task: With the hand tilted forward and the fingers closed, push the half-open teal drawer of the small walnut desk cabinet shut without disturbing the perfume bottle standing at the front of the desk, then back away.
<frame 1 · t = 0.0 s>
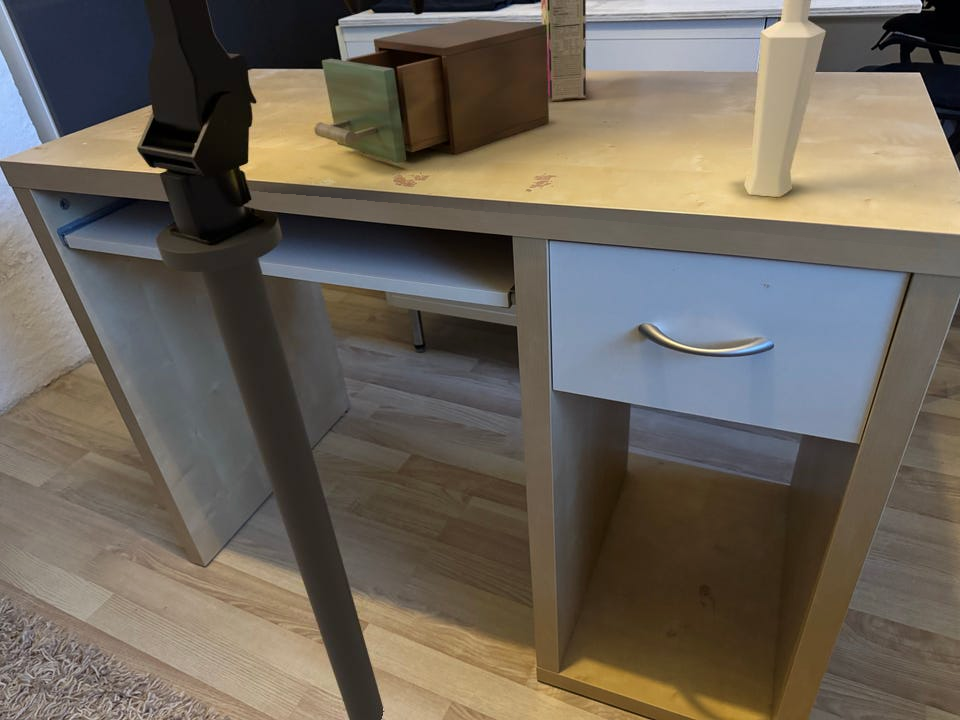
hand: (386, 13, 77), 13 cm above the table, tool pointing down, fingers open, 9 cm apart
cabinet: (468, 129, 81), on the table
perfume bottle: (764, 190, 59), on the table
drawer: (396, 100, 73), point 5 cm above the table, slide at 6.0 cm
candy bar box: (563, 92, 94), on the table
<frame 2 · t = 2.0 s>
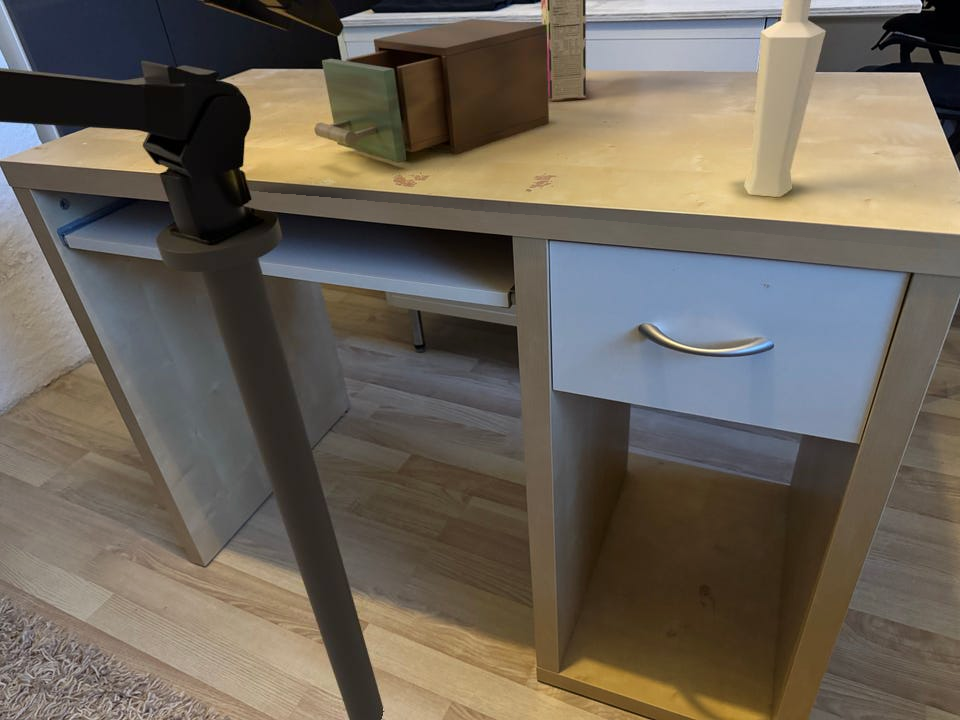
hand: (314, 28, 65), 13 cm above the table, tool tilted 45°, fingers open, 9 cm apart
nothing on the table moved.
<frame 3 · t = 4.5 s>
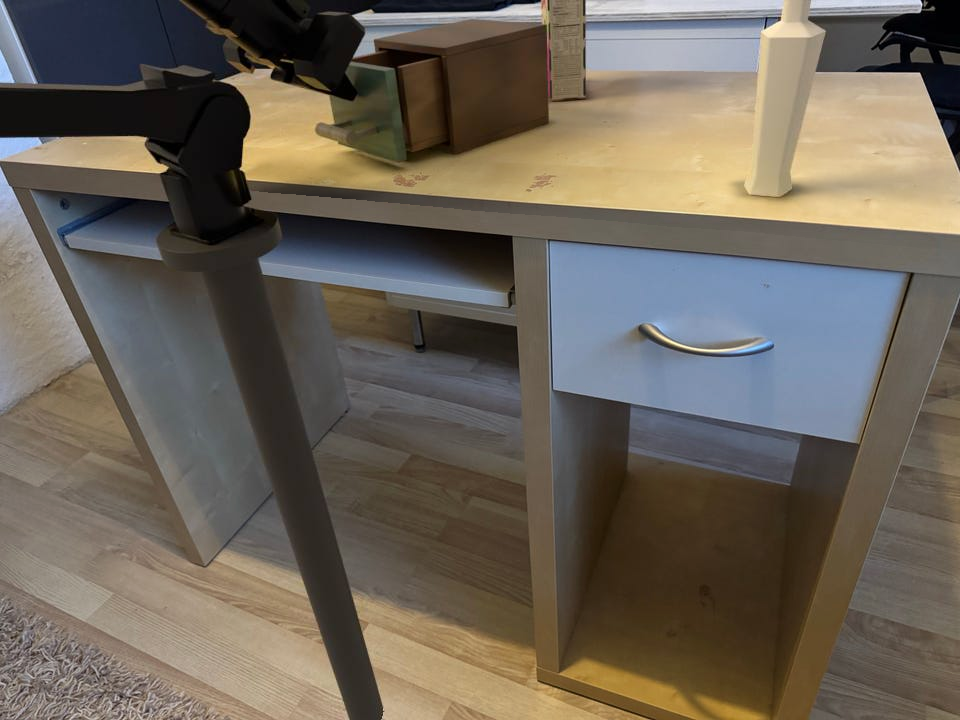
hand: (353, 96, 70), 7 cm above the table, tool tilted 45°, fingers closed, pressing on drawer
drawer: (396, 100, 73), point 5 cm above the table, slide at 5.9 cm, touching gripper
everything else where it was.
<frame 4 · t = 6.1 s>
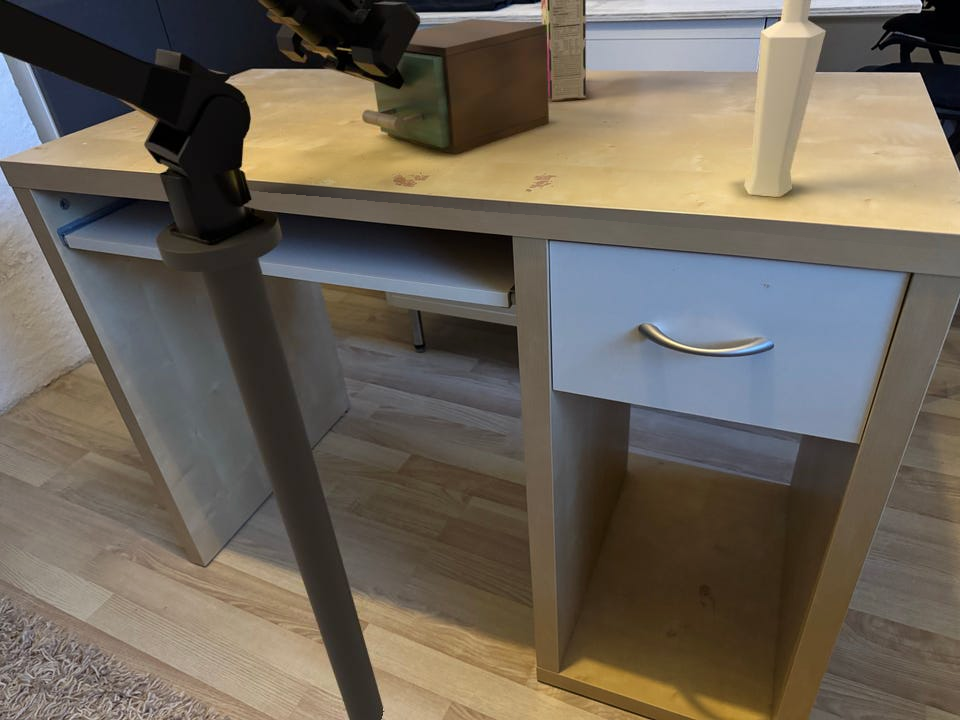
hand: (400, 85, 73), 7 cm above the table, tool tilted 45°, fingers closed, pressing on drawer
drawer: (439, 89, 77), point 5 cm above the table, slide at 0.0 cm, touching cabinet, gripper
everything else where it was.
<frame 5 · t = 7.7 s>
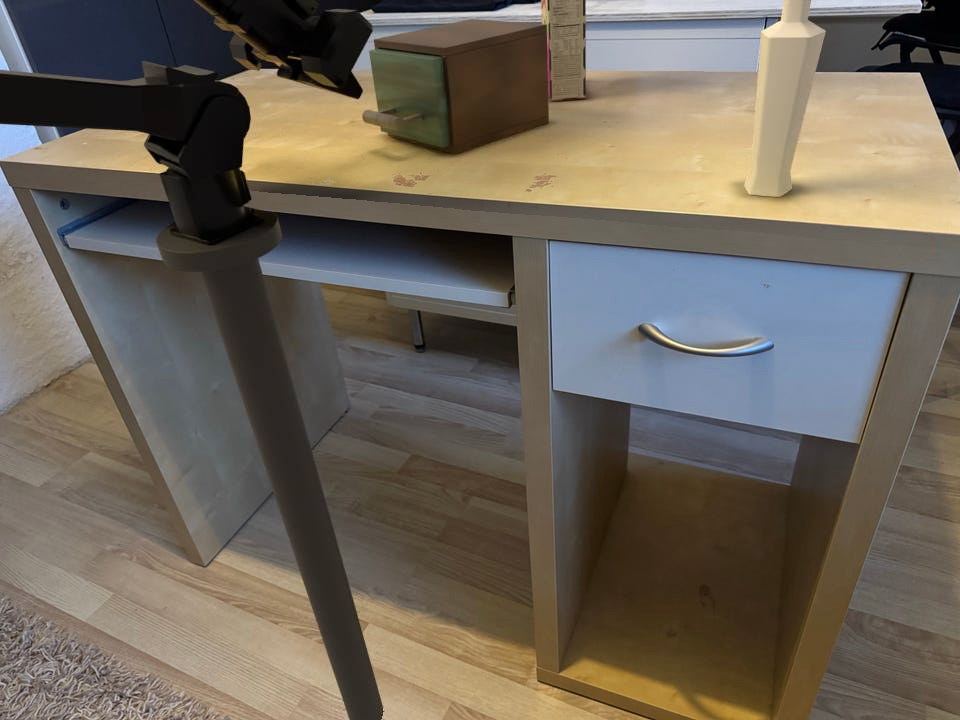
hand: (359, 94, 71), 7 cm above the table, tool tilted 45°, fingers closed
drawer: (439, 89, 77), point 5 cm above the table, slide at 0.0 cm, touching cabinet
everything else where it was.
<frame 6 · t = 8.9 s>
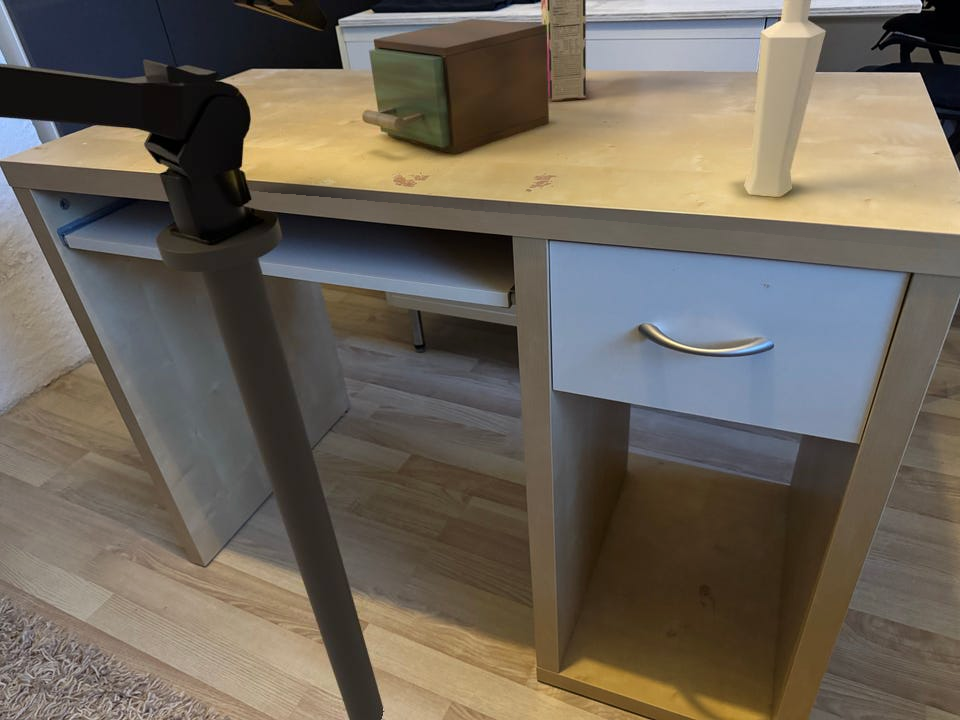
hand: (324, 25, 65), 14 cm above the table, tool tilted 45°, fingers closed
nothing on the table moved.
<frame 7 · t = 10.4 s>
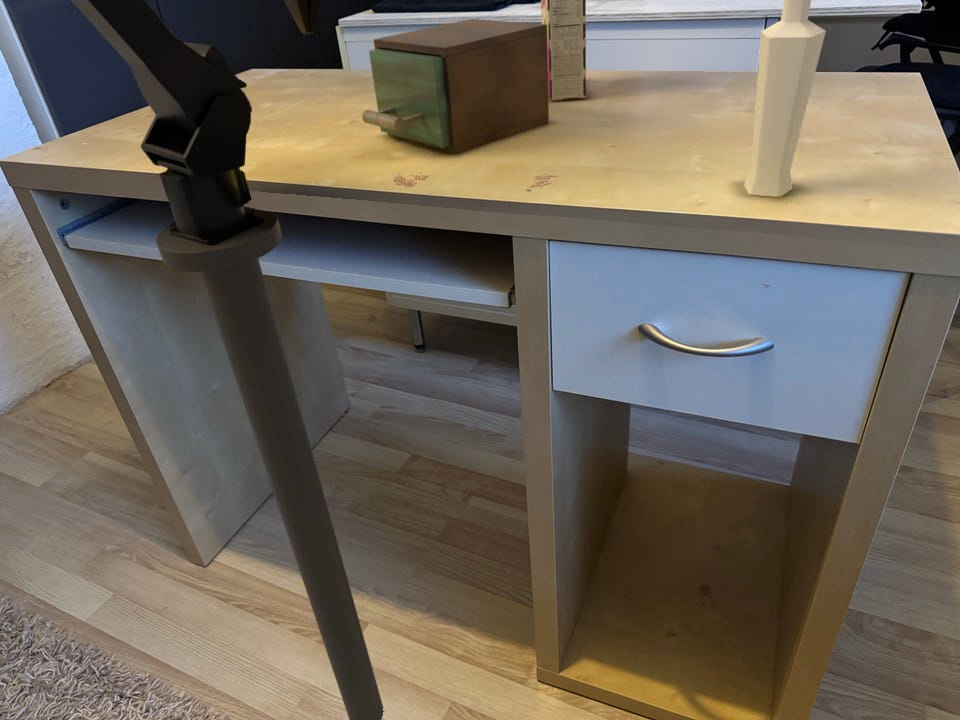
hand: (308, 33, 66), 13 cm above the table, tool pointing down, fingers closed
nothing on the table moved.
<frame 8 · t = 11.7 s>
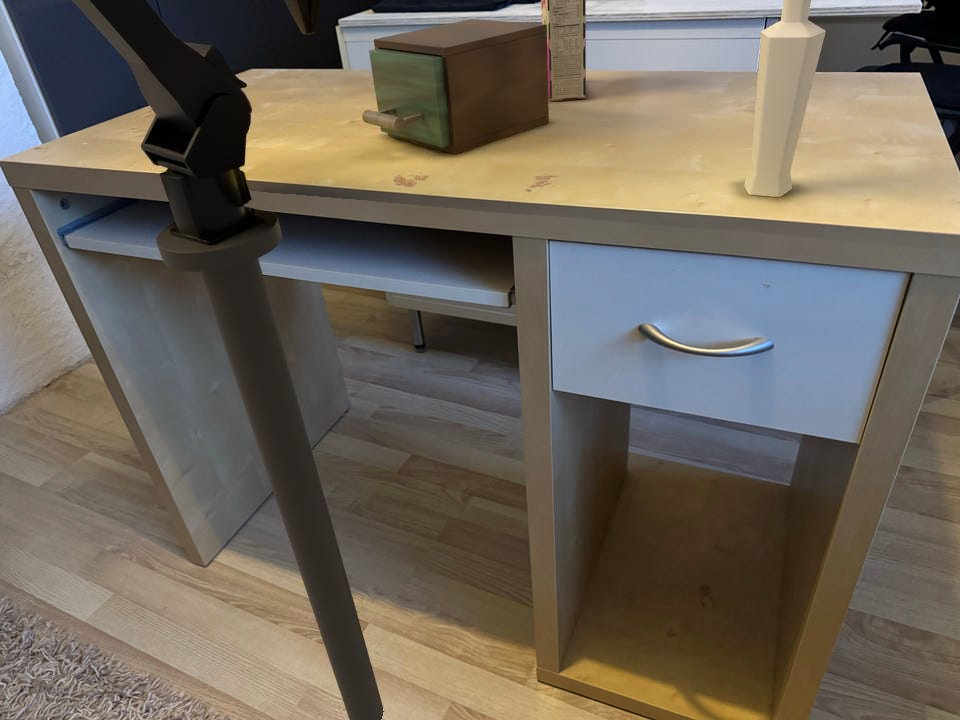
hand: (308, 33, 66), 13 cm above the table, tool pointing down, fingers closed
nothing on the table moved.
at the end: drawer slide at 0.0 cm; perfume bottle moved 0.2 cm from its start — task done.
